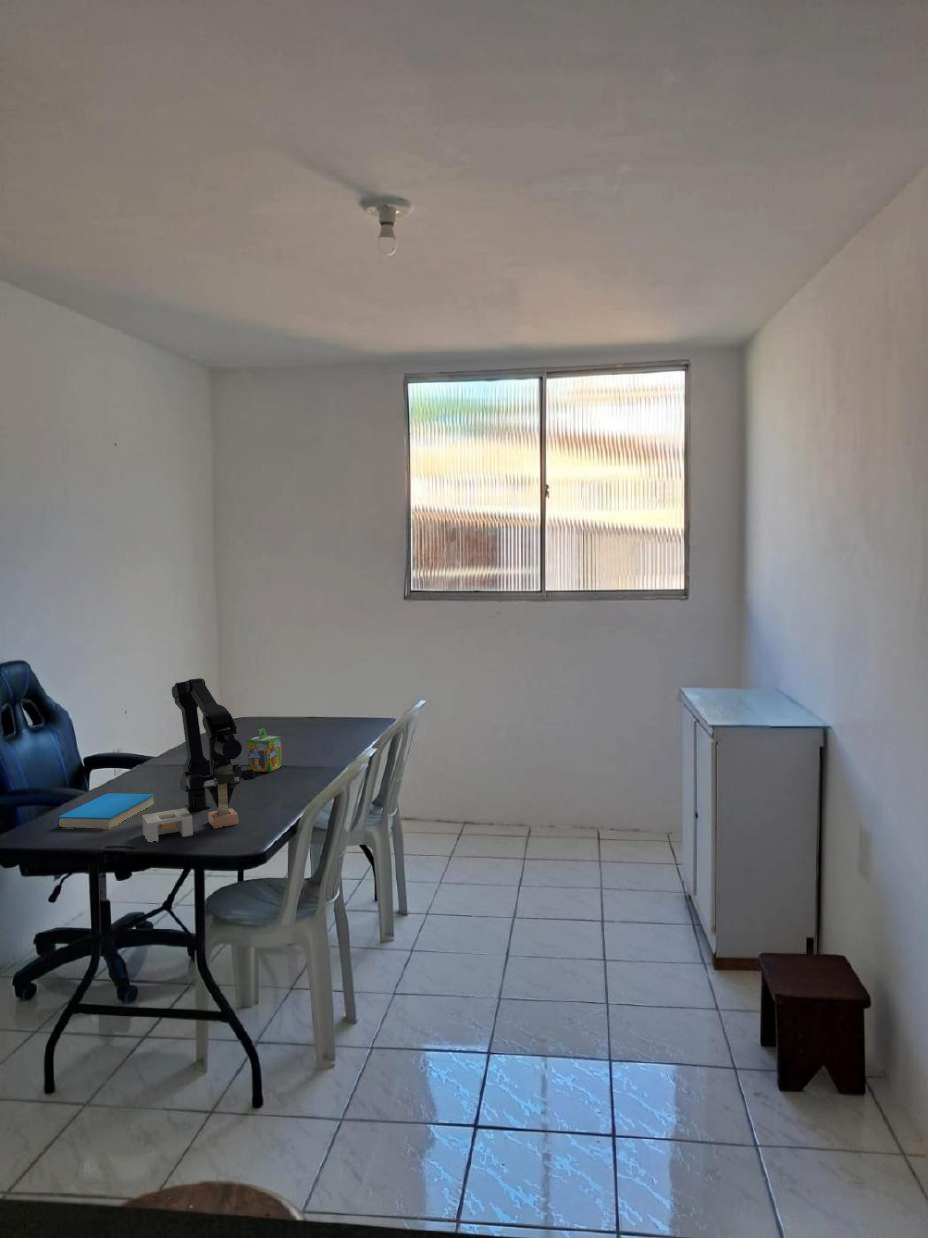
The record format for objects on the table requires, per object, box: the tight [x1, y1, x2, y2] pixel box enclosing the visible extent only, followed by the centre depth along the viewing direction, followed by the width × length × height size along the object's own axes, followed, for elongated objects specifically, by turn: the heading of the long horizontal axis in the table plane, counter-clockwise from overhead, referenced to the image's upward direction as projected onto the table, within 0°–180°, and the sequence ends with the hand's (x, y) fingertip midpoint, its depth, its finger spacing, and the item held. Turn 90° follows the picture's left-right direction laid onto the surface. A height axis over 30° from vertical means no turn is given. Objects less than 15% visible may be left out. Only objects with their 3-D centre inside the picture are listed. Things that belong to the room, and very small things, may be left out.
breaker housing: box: [141, 807, 194, 843], centre depth 257 cm, size 9×12×6 cm
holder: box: [207, 807, 239, 829], centre depth 266 cm, size 7×7×3 cm
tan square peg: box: [215, 781, 229, 816], centre depth 266 cm, size 3×3×12 cm
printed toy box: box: [246, 727, 283, 773], centre depth 330 cm, size 9×9×15 cm
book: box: [57, 793, 155, 830], centre depth 278 cm, size 17×4×25 cm
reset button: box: [160, 822, 176, 830], centre depth 256 cm, size 4×4×2 cm
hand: (222, 806), depth 266 cm, fingers closed on tan square peg, 3 cm apart
